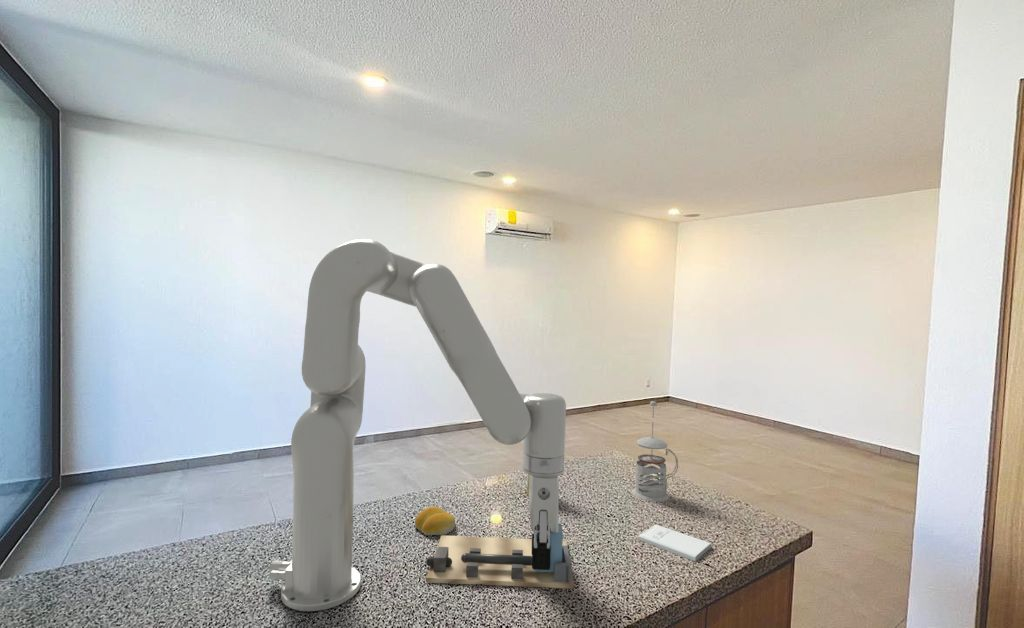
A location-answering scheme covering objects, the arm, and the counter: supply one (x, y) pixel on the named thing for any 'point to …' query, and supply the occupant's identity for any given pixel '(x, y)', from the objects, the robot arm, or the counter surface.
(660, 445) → the french press
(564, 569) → the end holder
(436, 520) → the bread roll
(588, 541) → the counter surface
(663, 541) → the external hard drive
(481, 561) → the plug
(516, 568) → the board
